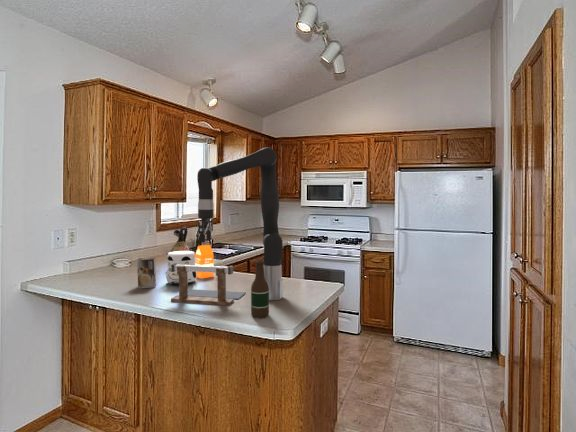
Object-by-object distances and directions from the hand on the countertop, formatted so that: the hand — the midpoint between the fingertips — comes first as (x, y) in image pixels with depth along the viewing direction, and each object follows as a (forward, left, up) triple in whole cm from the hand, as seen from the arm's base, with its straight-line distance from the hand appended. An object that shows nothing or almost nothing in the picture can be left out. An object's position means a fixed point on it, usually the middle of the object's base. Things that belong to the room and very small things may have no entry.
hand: (205, 241), depth 182 cm
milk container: (+28, -28, -29) cm, 49 cm away
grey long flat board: (0, -8, -29) cm, 30 cm away
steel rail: (0, +5, -14) cm, 15 cm away
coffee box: (+43, -16, -29) cm, 54 cm away
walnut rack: (0, +5, -29) cm, 30 cm away
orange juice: (+22, -47, -29) cm, 59 cm away
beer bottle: (-33, +19, -29) cm, 48 cm away
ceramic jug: (+45, -60, -29) cm, 80 cm away
